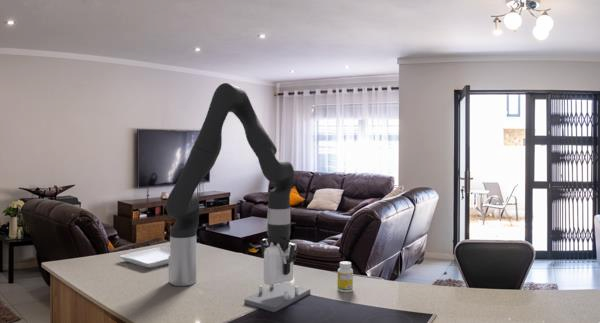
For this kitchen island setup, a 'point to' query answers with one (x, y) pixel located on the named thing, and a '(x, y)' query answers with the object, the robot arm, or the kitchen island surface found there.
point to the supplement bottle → (345, 277)
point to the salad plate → (149, 257)
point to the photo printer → (275, 266)
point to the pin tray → (276, 296)
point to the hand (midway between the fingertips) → (278, 272)
